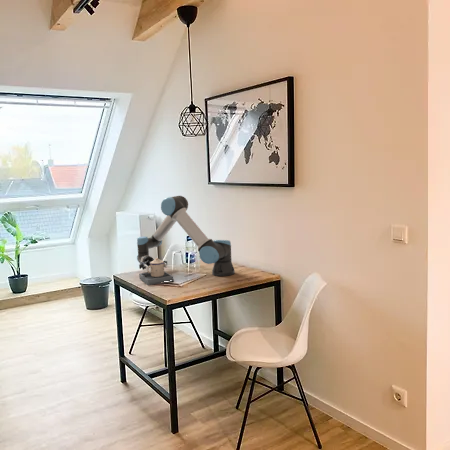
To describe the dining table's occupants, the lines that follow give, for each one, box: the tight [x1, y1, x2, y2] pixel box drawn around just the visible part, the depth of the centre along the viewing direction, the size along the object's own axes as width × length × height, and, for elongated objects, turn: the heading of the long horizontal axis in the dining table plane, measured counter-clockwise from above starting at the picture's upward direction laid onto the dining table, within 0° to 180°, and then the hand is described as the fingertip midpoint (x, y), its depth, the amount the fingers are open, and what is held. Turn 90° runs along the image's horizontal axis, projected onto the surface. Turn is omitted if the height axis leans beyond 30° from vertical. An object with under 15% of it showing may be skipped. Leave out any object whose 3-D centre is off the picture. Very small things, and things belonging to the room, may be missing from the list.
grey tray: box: [138, 270, 174, 286], centre depth 311 cm, size 17×20×4 cm
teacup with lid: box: [146, 257, 165, 277], centre depth 310 cm, size 12×9×12 cm
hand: (157, 267), depth 307 cm, fingers closed on teacup with lid, 12 cm apart
